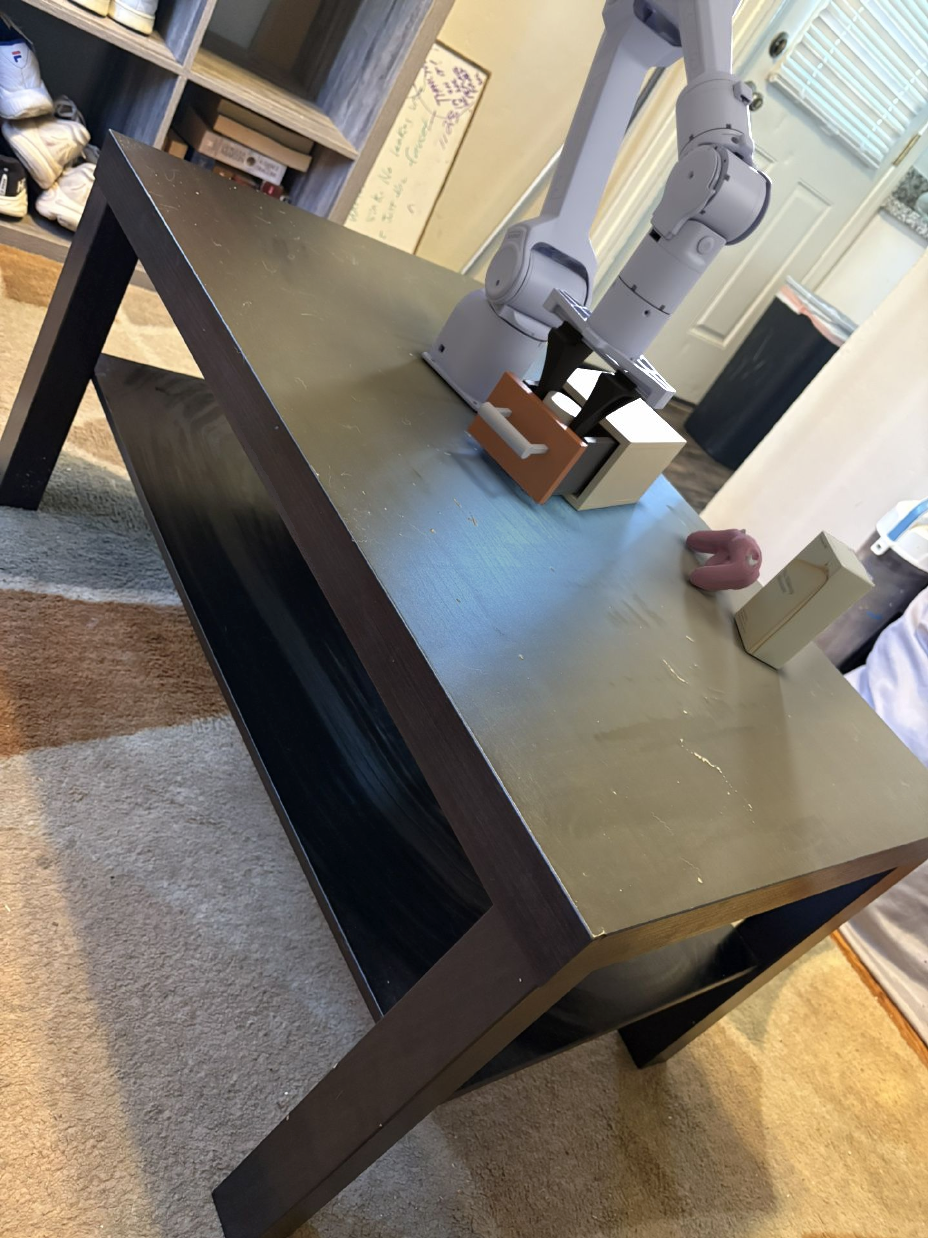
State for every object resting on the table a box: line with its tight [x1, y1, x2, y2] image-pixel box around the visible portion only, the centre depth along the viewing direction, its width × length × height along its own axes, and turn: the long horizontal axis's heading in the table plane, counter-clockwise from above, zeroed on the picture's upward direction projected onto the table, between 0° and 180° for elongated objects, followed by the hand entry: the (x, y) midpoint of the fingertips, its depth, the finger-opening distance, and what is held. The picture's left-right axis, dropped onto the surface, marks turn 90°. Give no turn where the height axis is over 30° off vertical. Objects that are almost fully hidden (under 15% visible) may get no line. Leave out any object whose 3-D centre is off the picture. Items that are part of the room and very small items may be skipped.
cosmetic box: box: [733, 530, 876, 670], centre depth 83 cm, size 6×4×12 cm
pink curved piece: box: [685, 528, 763, 592], centre depth 91 cm, size 10×5×7 cm, turn 168°
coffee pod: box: [542, 391, 581, 426], centre depth 81 cm, size 4×4×4 cm
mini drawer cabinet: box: [560, 367, 688, 512], centre depth 91 cm, size 14×12×9 cm
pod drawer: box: [466, 371, 621, 505], centre depth 82 cm, size 17×10×7 cm, turn 137°
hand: (553, 422), depth 81 cm, fingers closed on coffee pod, 4 cm apart
